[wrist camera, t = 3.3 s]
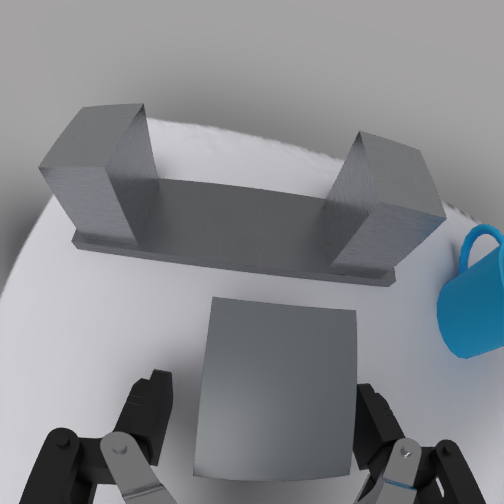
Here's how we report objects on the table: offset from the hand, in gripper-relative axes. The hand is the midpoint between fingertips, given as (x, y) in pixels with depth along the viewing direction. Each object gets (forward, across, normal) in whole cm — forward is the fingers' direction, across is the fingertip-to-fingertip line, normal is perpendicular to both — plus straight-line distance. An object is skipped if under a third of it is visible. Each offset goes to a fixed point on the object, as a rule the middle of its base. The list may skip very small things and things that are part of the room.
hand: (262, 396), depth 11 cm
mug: (+10, -21, -1) cm, 23 cm away
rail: (+13, +2, -4) cm, 14 cm away
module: (+5, 0, +4) cm, 6 cm away
